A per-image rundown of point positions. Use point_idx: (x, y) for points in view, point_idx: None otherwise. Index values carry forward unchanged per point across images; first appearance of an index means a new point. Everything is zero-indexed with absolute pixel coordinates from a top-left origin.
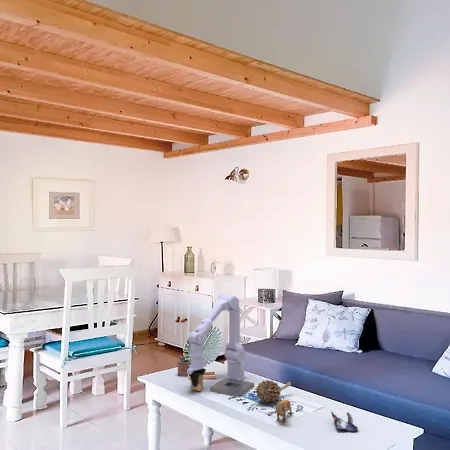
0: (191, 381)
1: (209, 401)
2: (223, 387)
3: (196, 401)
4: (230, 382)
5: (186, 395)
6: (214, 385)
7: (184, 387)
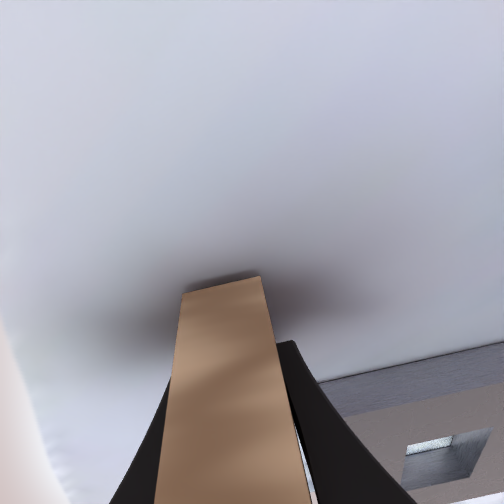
0: (174, 394)
1: None
2: None
3: (57, 454)
4: (493, 434)
5: (49, 348)
6: (367, 420)
7: (202, 142)
